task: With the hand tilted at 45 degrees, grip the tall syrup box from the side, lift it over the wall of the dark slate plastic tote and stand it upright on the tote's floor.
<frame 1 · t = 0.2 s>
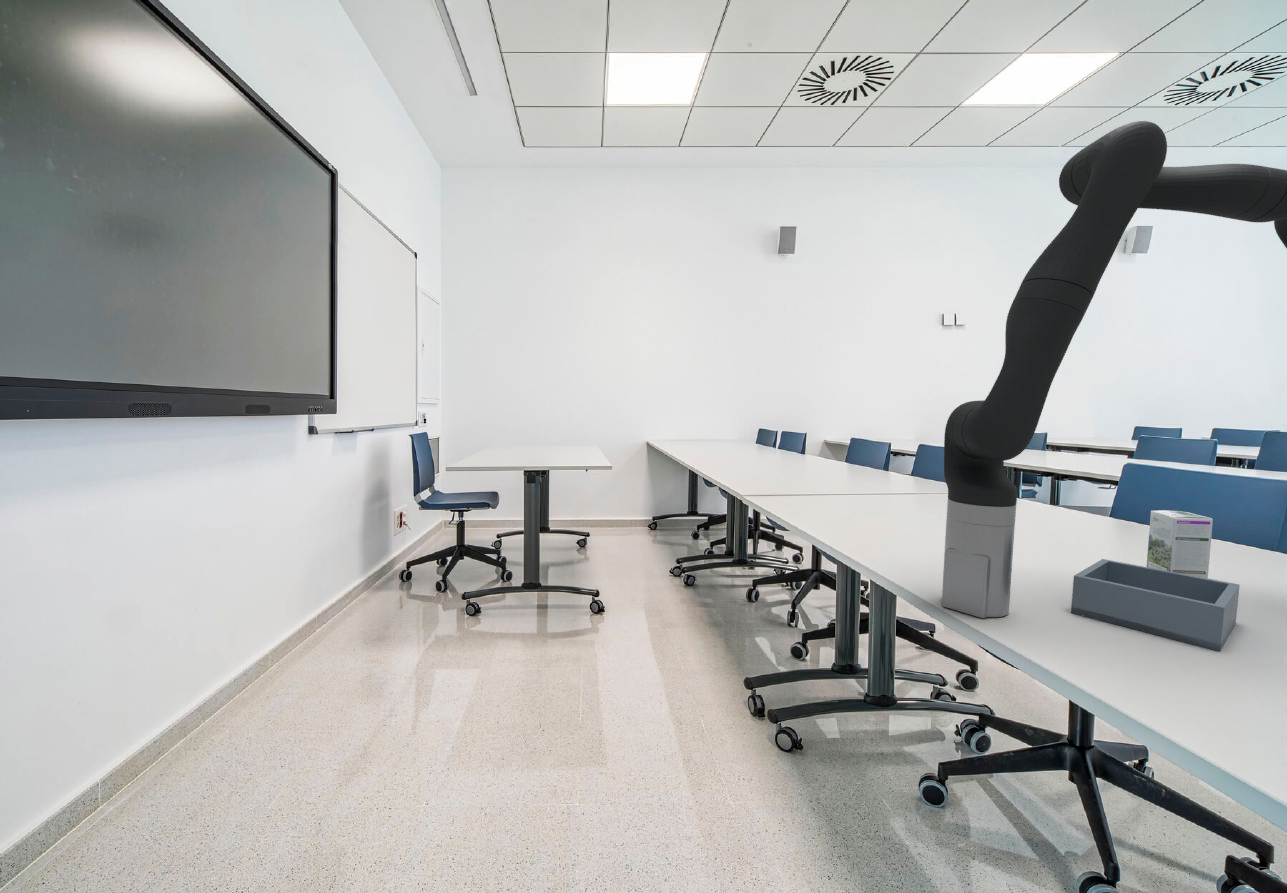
tote: (1151, 617, 82), on the table
syrup box: (1173, 596, 92), on the table
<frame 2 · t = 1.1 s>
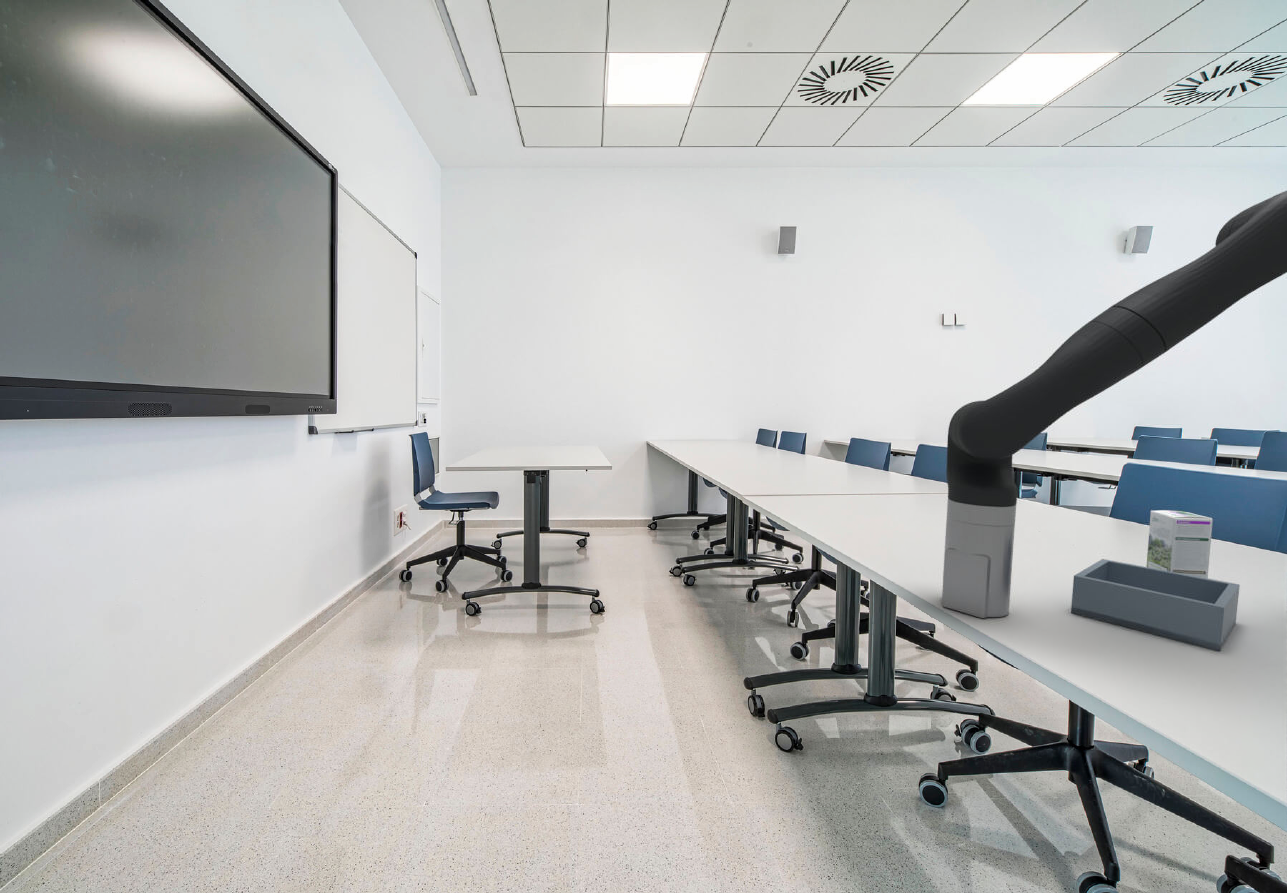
nothing on the table moved.
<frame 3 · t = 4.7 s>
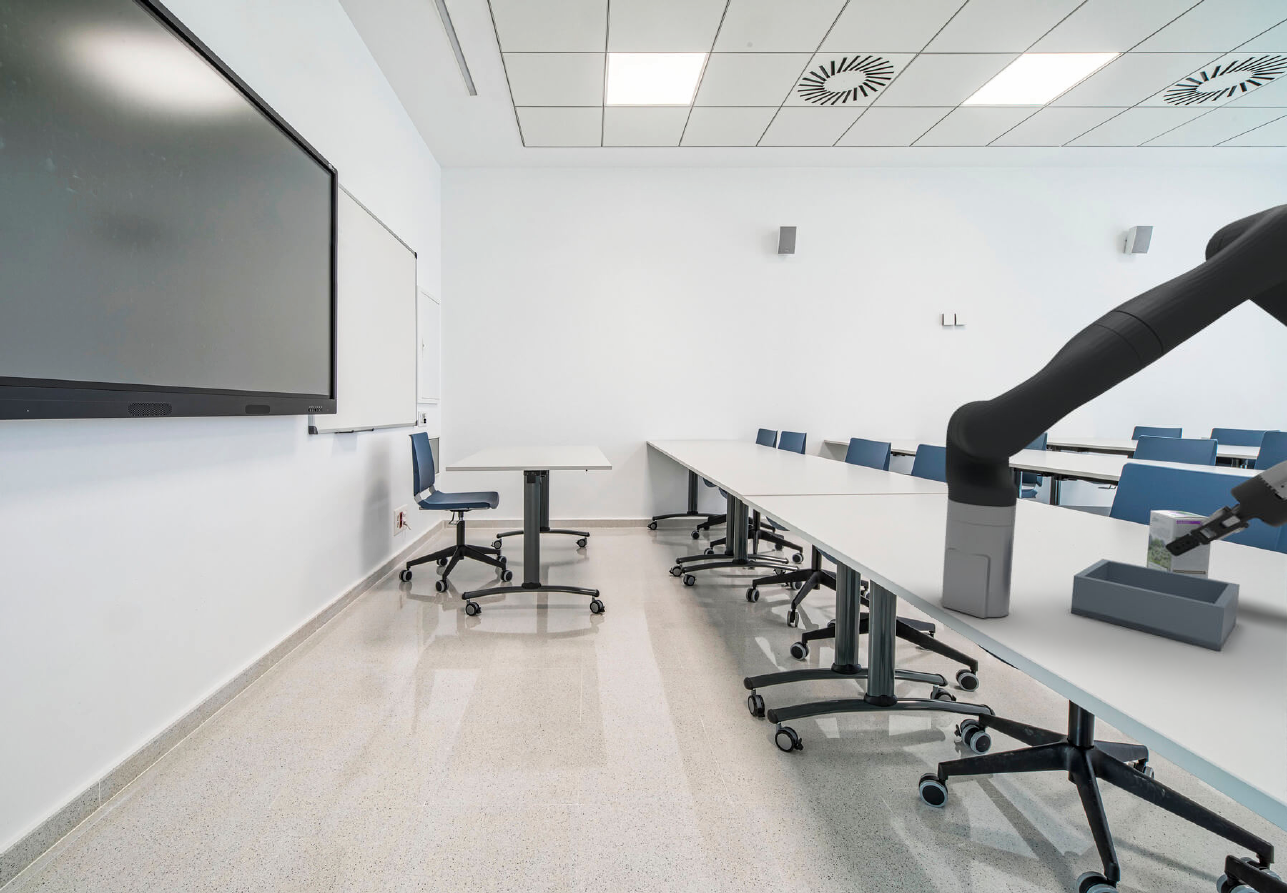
hand: (1175, 547, 91), 8 cm above the table, tool tilted 45°, fingers open, 8 cm apart
syrup box: (1173, 596, 92), on the table, touching gripper
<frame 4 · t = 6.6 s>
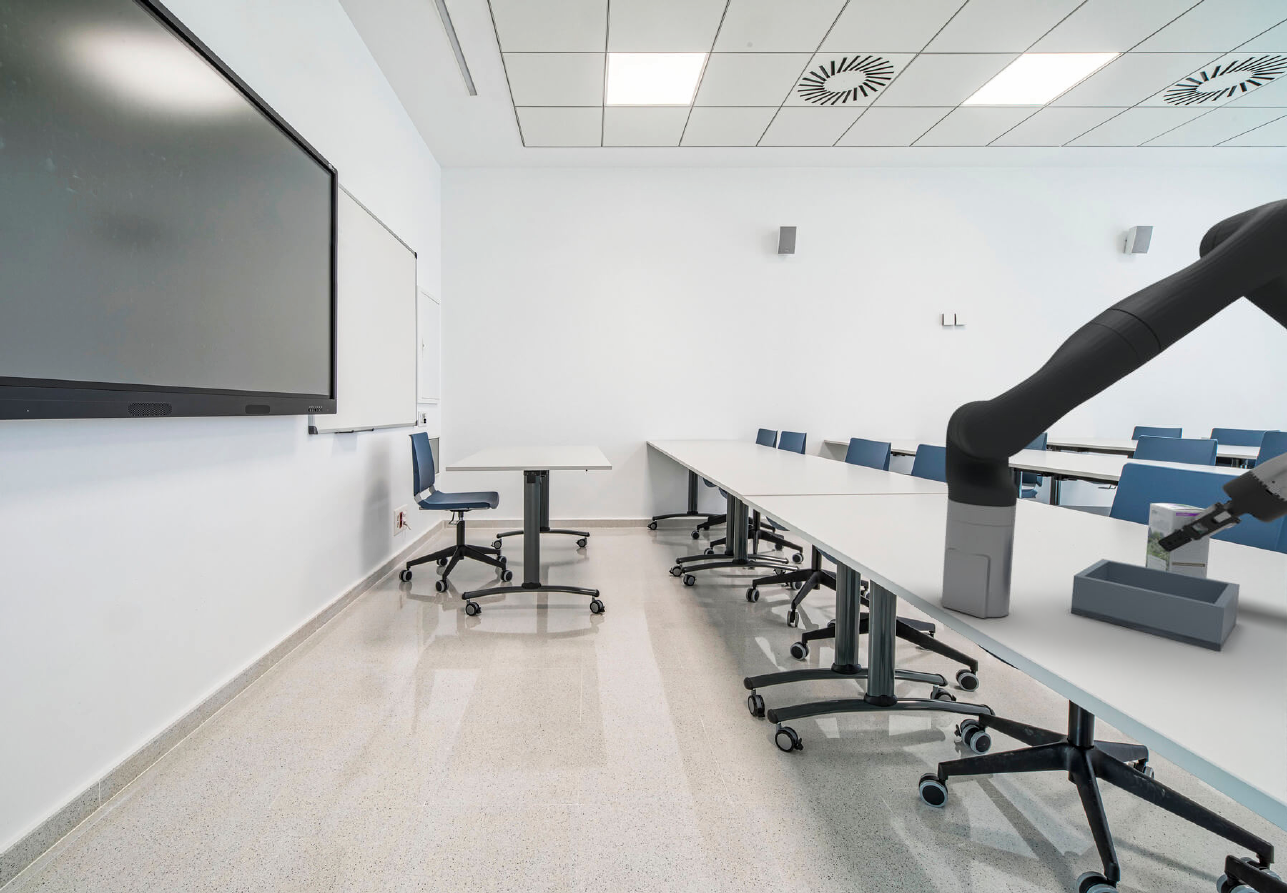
hand: (1167, 543, 92), 9 cm above the table, tool tilted 45°, fingers closed on syrup box, 8 cm apart
syrup box: (1173, 589, 92), point 1 cm above the table, touching gripper
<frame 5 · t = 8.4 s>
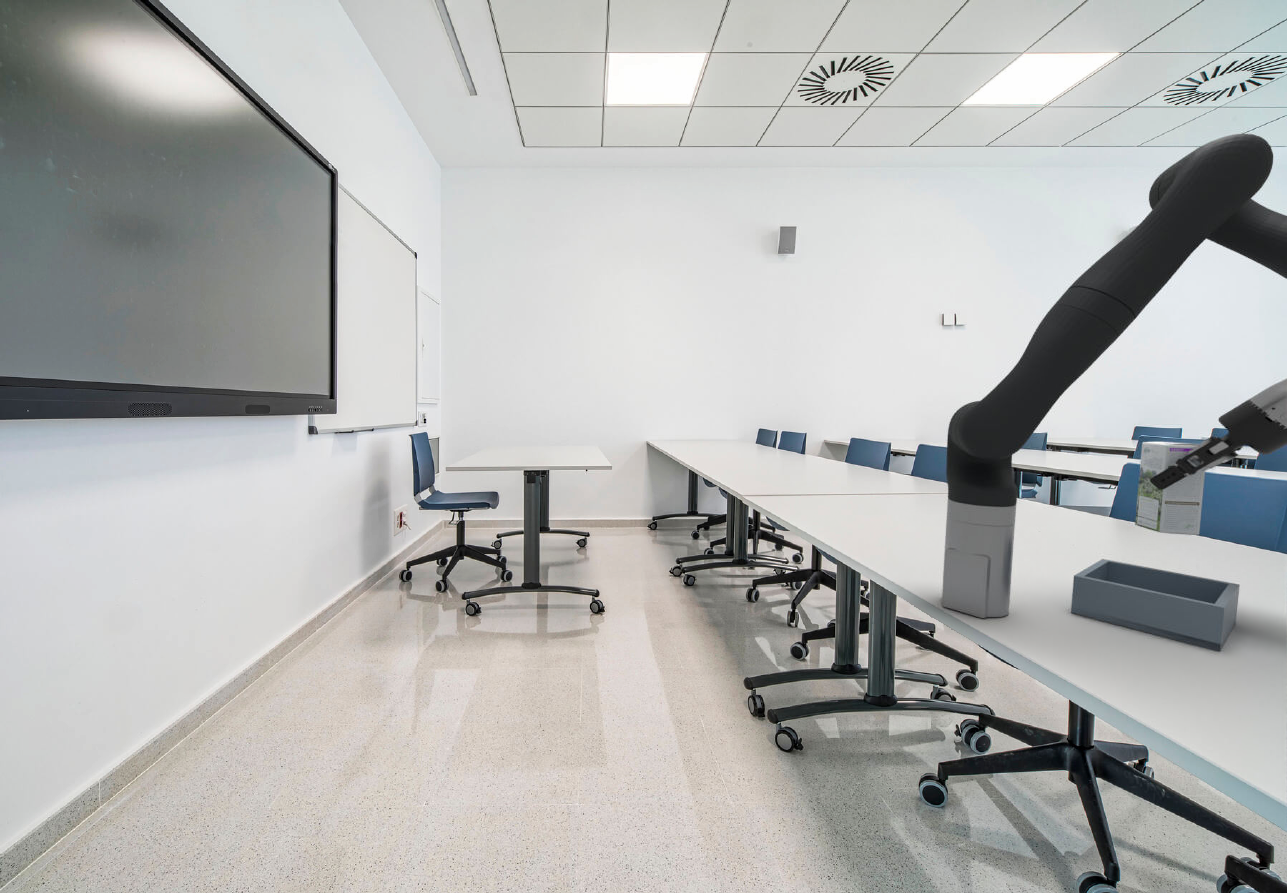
hand: (1160, 483, 87), 20 cm above the table, tool tilted 45°, fingers closed on syrup box, 8 cm apart
syrup box: (1165, 531, 87), point 12 cm above the table, touching gripper
when the fingers open (10 cm above the table, at t = 11.7 s): syrup box drops 1 cm, resting on tote.
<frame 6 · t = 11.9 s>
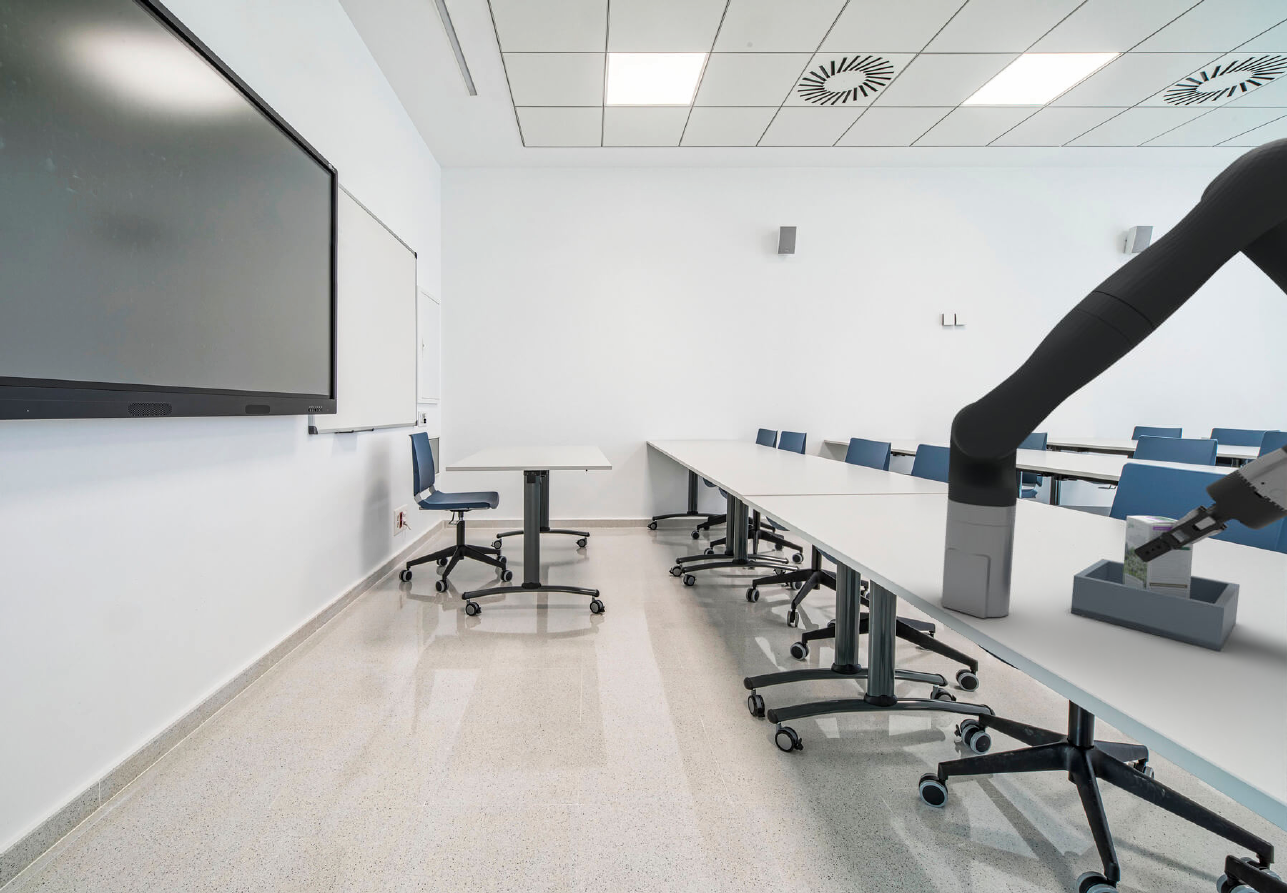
hand: (1146, 552, 82), 10 cm above the table, tool tilted 45°, fingers open, 8 cm apart
syrup box: (1152, 612, 81), point 1 cm above the table, touching gripper, tote
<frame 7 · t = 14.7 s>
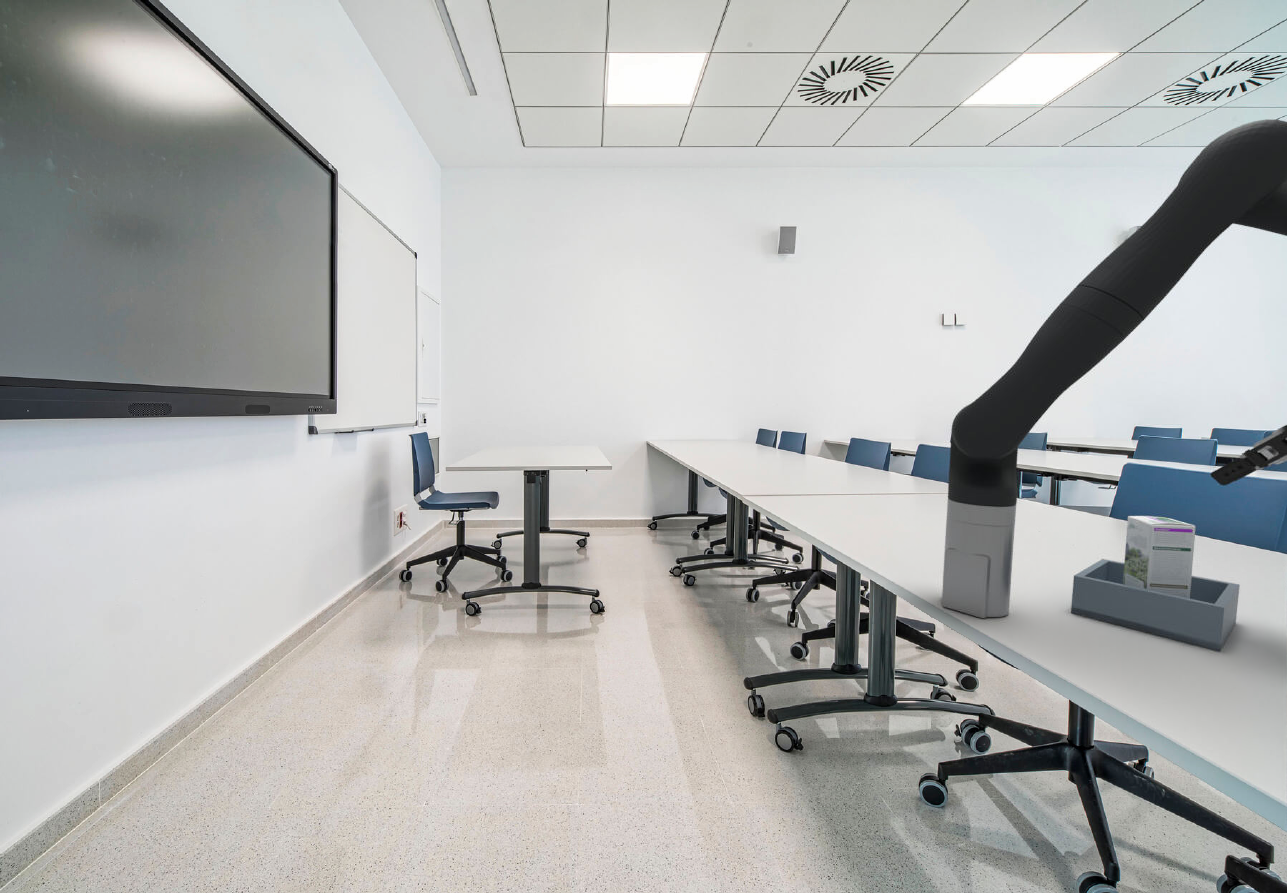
hand: (1221, 478, 76), 22 cm above the table, tool tilted 45°, fingers open, 8 cm apart
syrup box: (1152, 613, 81), point 1 cm above the table, touching tote
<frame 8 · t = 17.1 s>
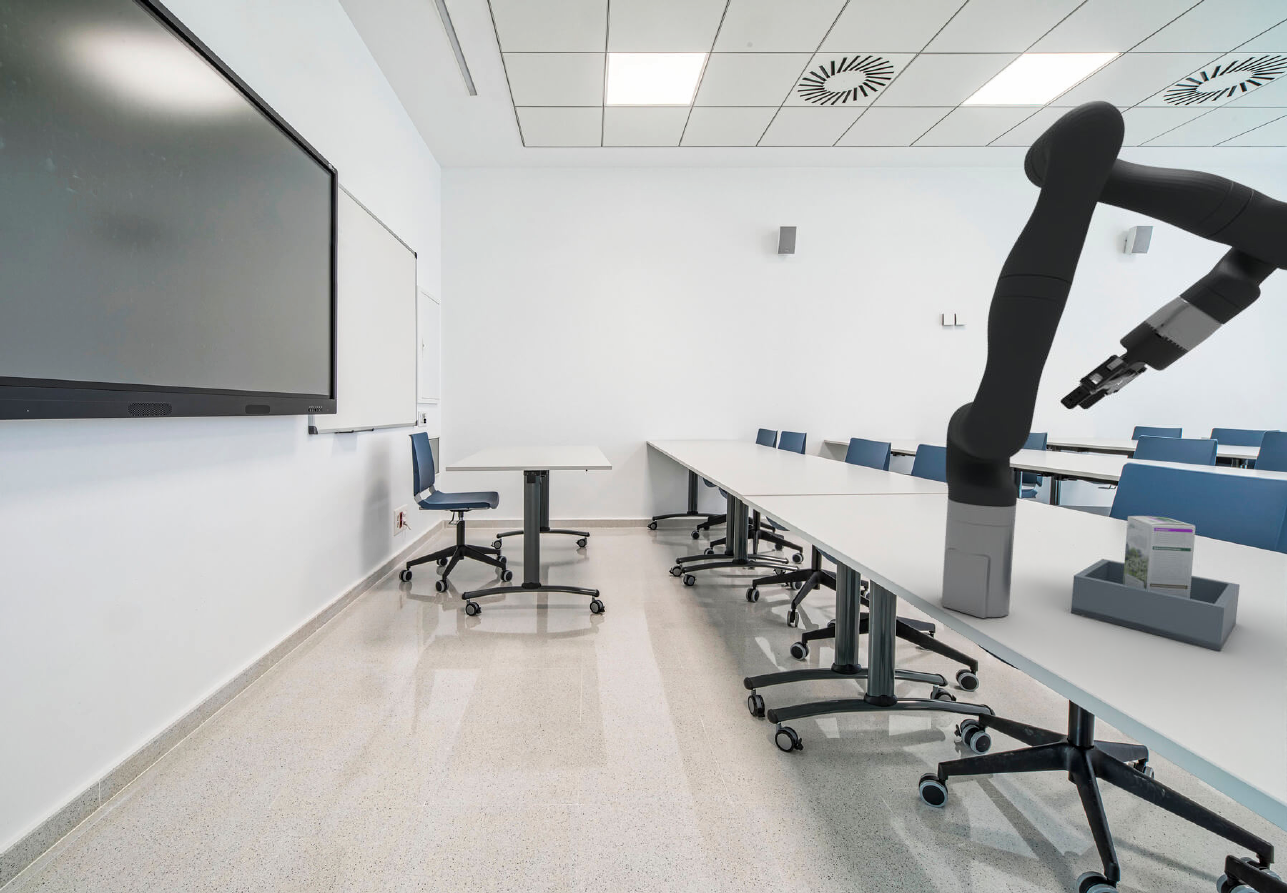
hand: (1072, 405, 93), 33 cm above the table, tool tilted 45°, fingers open, 8 cm apart
nothing on the table moved.
at the end: syrup box inside the target area on the tote (0.2 cm from its centre), point 0.8 cm above the tote's base; syrup box tilted 0°; the gripper is holding nothing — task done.
